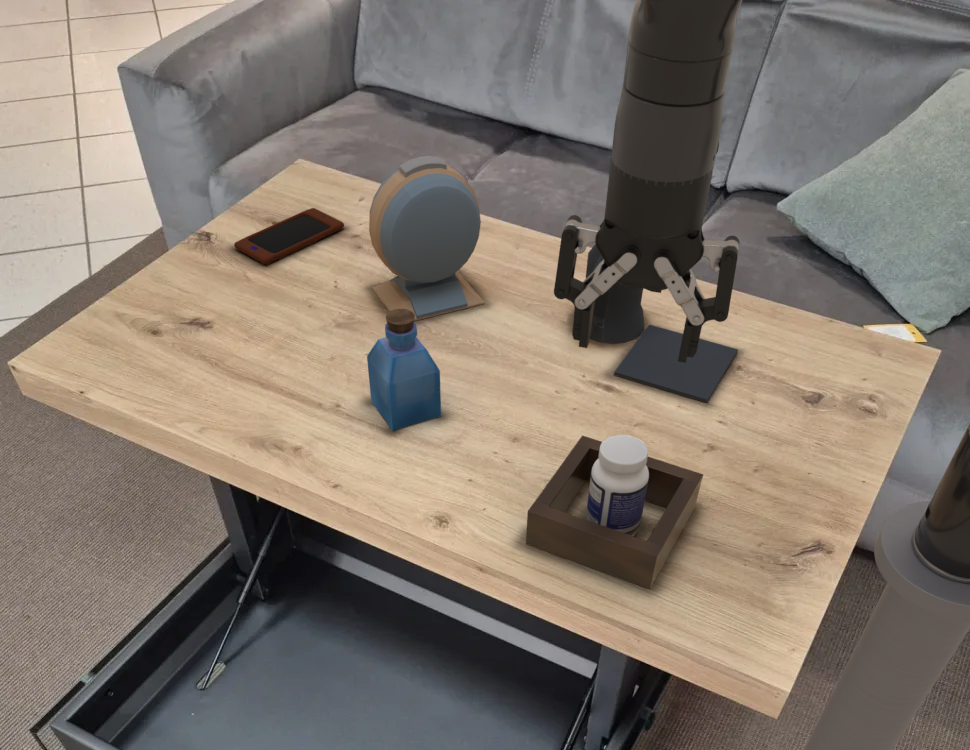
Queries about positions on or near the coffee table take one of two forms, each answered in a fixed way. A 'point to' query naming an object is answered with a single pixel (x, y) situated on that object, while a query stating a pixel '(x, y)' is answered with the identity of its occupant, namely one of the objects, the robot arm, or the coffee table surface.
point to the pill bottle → (619, 484)
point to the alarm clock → (425, 237)
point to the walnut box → (602, 543)
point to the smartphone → (288, 235)
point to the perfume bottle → (403, 374)
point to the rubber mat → (676, 364)
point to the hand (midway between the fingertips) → (633, 350)
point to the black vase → (615, 309)
